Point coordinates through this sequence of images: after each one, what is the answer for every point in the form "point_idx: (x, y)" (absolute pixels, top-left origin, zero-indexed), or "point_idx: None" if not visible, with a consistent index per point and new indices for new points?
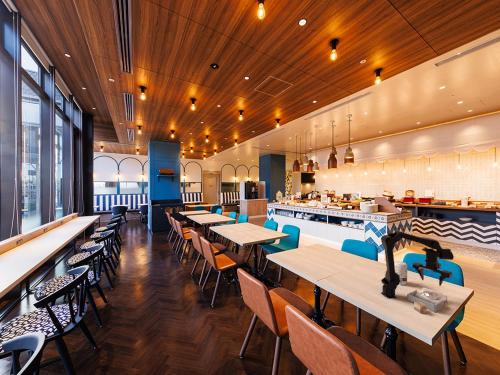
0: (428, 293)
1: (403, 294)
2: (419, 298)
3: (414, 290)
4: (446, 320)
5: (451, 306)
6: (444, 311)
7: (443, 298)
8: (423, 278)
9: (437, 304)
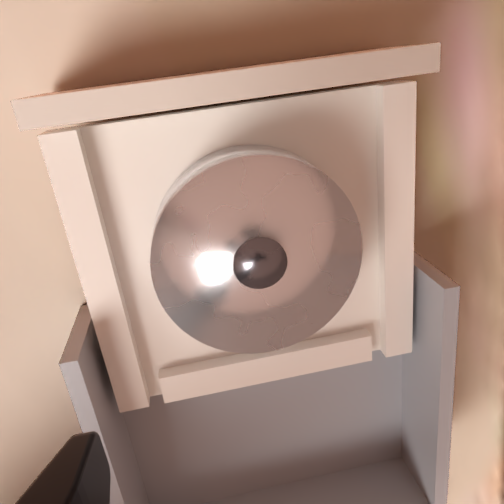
0: (237, 292)
1: (8, 439)
2: None
3: (83, 424)
4: (500, 474)
5: (460, 146)
6: None
7: (390, 133)
8: (90, 492)
9: (445, 469)
